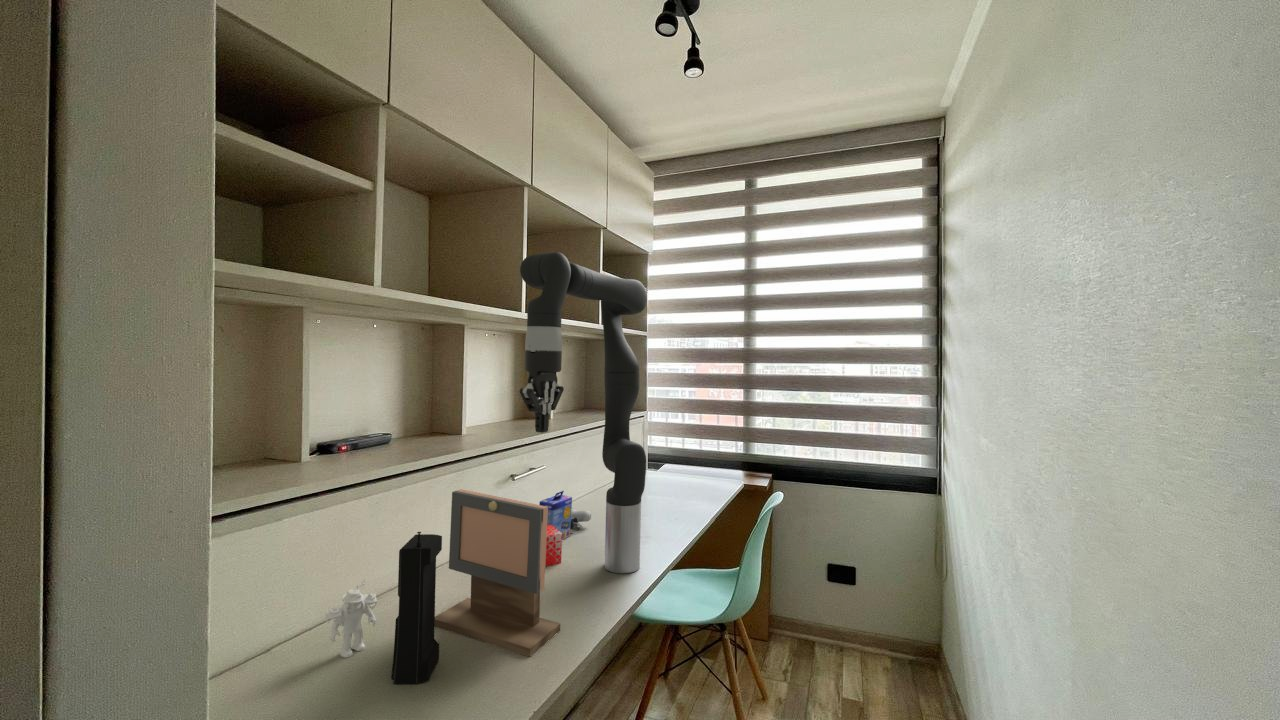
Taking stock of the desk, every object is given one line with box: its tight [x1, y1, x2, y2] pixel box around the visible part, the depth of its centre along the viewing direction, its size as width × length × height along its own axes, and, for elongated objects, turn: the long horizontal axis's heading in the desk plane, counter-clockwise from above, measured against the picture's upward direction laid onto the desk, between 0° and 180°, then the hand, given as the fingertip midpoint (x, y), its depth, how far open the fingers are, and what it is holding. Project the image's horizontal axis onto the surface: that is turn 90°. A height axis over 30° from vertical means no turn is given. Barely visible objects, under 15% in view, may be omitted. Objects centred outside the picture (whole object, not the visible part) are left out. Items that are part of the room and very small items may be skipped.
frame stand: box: [435, 575, 561, 657], centre depth 103 cm, size 10×24×24 cm, turn 66°
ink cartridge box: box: [538, 490, 573, 541], centre depth 154 cm, size 10×6×14 cm, turn 152°
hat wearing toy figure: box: [324, 578, 378, 658], centre depth 94 cm, size 9×4×12 cm, turn 147°
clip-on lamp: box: [570, 508, 592, 530], centre depth 166 cm, size 12×6×18 cm
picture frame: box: [448, 488, 548, 594], centre depth 103 cm, size 3×22×16 cm, turn 66°
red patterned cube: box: [545, 525, 563, 567], centre depth 138 cm, size 8×8×8 cm
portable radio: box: [390, 531, 443, 685], centre depth 89 cm, size 8×6×25 cm
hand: (541, 431), depth 107 cm, fingers closed
